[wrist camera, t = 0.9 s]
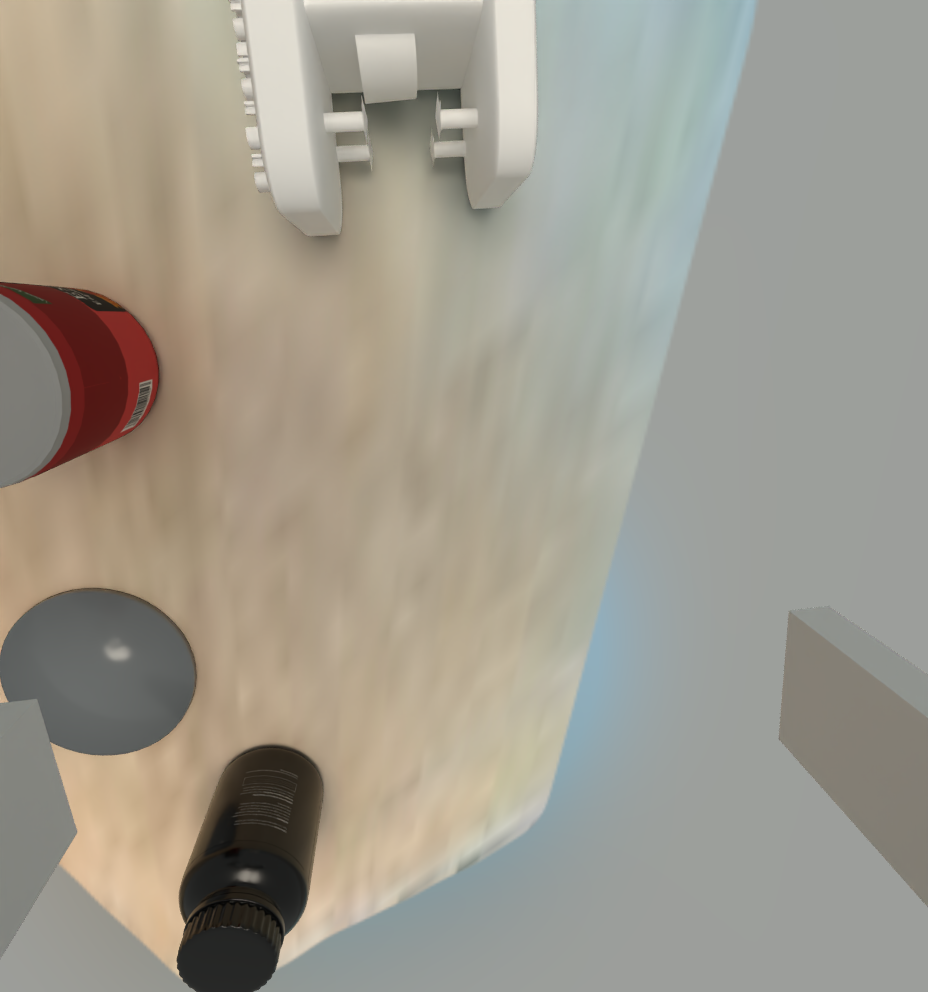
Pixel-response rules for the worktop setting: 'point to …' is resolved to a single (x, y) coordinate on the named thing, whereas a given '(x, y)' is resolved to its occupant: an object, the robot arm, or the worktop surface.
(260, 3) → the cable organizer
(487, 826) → the worktop surface
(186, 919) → the supplement bottle
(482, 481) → the worktop surface
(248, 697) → the worktop surface
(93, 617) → the coaster
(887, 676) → the robot arm
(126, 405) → the canned food
